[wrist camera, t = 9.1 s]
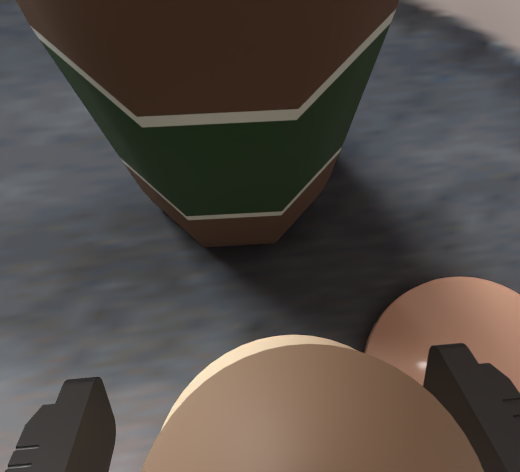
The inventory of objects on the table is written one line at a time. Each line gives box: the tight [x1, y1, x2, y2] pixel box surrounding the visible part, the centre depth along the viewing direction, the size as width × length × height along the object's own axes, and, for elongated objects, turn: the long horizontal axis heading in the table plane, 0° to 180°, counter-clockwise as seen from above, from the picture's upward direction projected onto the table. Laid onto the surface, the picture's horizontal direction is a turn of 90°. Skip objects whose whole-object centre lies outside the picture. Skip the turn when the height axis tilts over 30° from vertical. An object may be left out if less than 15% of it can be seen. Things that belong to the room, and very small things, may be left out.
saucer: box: [363, 276, 520, 393], centre depth 18 cm, size 8×8×1 cm
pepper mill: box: [141, 335, 484, 472], centre depth 11 cm, size 4×4×14 cm
